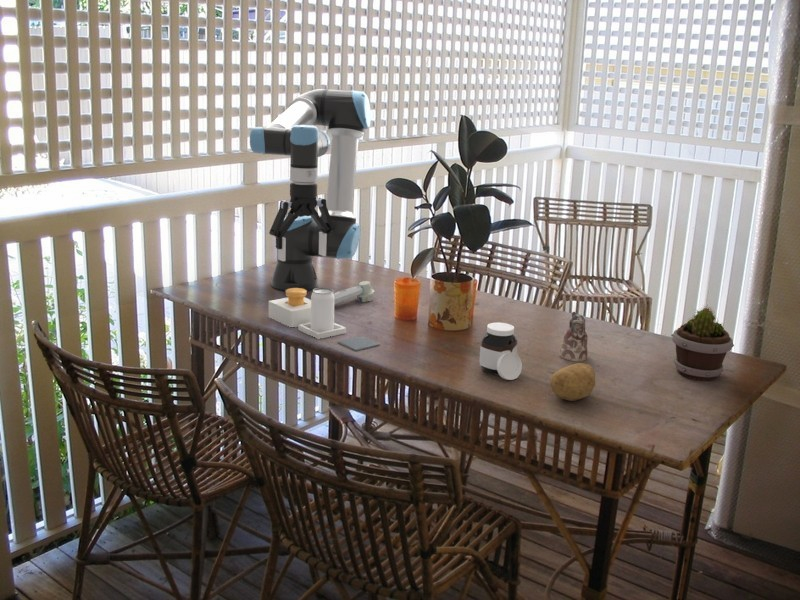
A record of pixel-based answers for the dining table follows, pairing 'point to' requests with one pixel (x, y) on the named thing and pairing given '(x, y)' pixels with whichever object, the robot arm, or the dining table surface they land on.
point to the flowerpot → (701, 346)
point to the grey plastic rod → (355, 293)
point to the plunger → (296, 296)
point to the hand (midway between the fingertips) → (302, 257)
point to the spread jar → (500, 351)
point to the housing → (299, 317)
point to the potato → (573, 381)
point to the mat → (358, 343)
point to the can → (322, 310)
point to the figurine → (575, 340)
